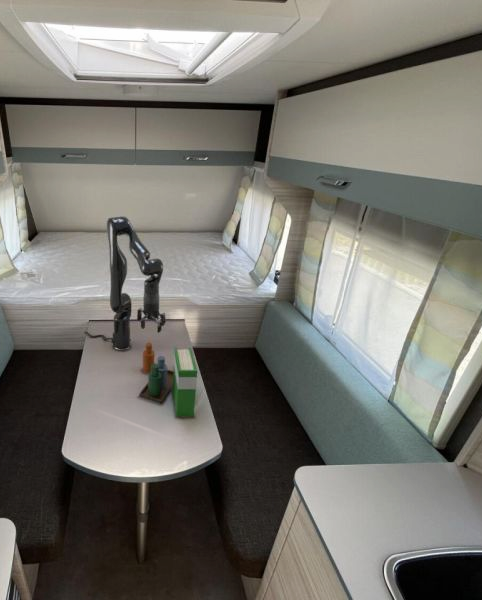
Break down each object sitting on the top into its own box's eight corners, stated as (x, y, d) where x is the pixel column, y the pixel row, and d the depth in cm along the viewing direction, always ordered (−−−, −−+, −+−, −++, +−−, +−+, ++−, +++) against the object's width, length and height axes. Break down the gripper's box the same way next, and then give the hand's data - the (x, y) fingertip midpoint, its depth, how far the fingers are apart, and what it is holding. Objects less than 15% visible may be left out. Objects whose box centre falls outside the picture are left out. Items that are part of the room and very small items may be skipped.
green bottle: (145, 395, 152) (146, 367, 145) (151, 388, 156) (151, 360, 150) (157, 399, 149) (158, 371, 143) (162, 392, 154) (163, 364, 148)
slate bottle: (152, 387, 157) (152, 359, 151) (157, 380, 162) (158, 353, 156) (163, 391, 155) (164, 362, 148) (168, 383, 160) (169, 356, 153)
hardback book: (172, 390, 156) (174, 347, 147) (188, 390, 156) (191, 347, 147) (176, 417, 140) (178, 371, 130) (193, 417, 140) (197, 371, 130)
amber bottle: (140, 372, 169) (140, 345, 163) (145, 366, 174) (146, 340, 168) (151, 375, 167) (151, 348, 161) (156, 369, 172) (156, 343, 165)
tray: (139, 397, 152) (139, 393, 151) (159, 370, 171) (160, 367, 170) (161, 404, 147) (161, 401, 146) (179, 376, 166) (180, 373, 165)
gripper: (168, 300, 155) (167, 330, 161) (141, 294, 161) (141, 323, 167) (162, 305, 149) (161, 336, 155) (134, 300, 155) (134, 330, 161)
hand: (151, 330), depth 161 cm, fingers open, 8 cm apart
